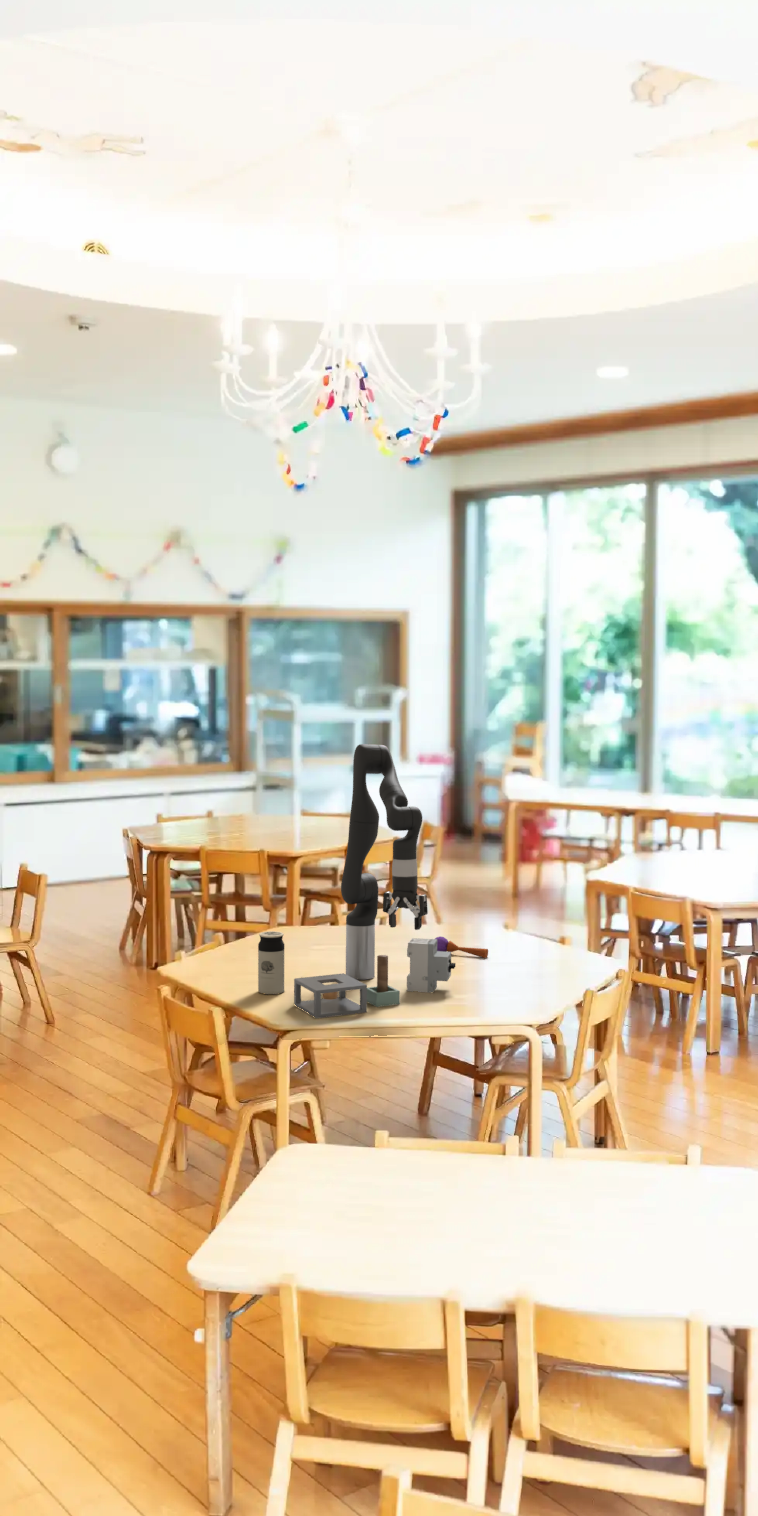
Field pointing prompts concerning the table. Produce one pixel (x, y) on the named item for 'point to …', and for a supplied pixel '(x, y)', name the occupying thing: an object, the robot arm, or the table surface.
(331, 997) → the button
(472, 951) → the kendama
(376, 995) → the holder
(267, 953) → the travel mug
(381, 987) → the brown rounded rod
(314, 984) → the gray open box frame
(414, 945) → the circuit breaker
